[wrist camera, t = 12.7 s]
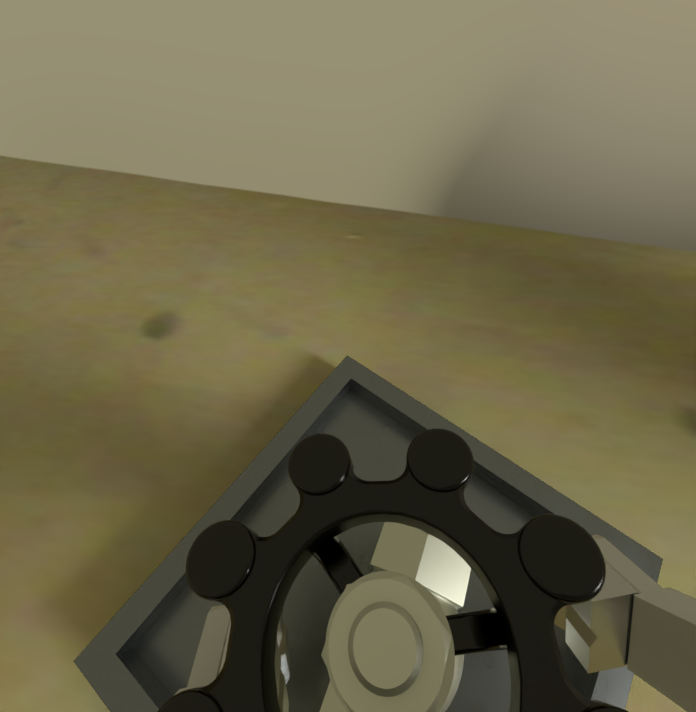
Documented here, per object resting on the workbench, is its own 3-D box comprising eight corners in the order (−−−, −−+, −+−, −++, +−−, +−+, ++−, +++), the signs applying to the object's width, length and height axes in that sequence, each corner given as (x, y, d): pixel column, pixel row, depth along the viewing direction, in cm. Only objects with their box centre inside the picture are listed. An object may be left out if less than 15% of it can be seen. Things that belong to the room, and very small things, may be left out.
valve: (287, 697, 14) (14, 837, 4) (355, 521, 17) (288, 379, 8) (468, 814, 11) (751, 1671, 2) (505, 585, 15) (674, 498, 5)
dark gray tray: (346, 373, 21) (347, 355, 20) (630, 561, 17) (662, 559, 15) (104, 652, 15) (73, 660, 13) (465, 1117, 10) (492, 1232, 8)
